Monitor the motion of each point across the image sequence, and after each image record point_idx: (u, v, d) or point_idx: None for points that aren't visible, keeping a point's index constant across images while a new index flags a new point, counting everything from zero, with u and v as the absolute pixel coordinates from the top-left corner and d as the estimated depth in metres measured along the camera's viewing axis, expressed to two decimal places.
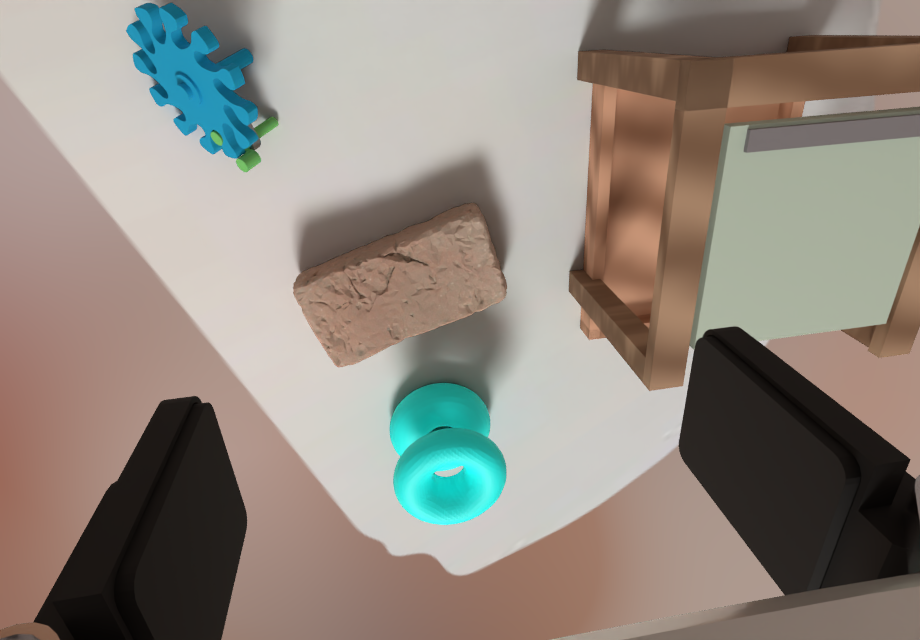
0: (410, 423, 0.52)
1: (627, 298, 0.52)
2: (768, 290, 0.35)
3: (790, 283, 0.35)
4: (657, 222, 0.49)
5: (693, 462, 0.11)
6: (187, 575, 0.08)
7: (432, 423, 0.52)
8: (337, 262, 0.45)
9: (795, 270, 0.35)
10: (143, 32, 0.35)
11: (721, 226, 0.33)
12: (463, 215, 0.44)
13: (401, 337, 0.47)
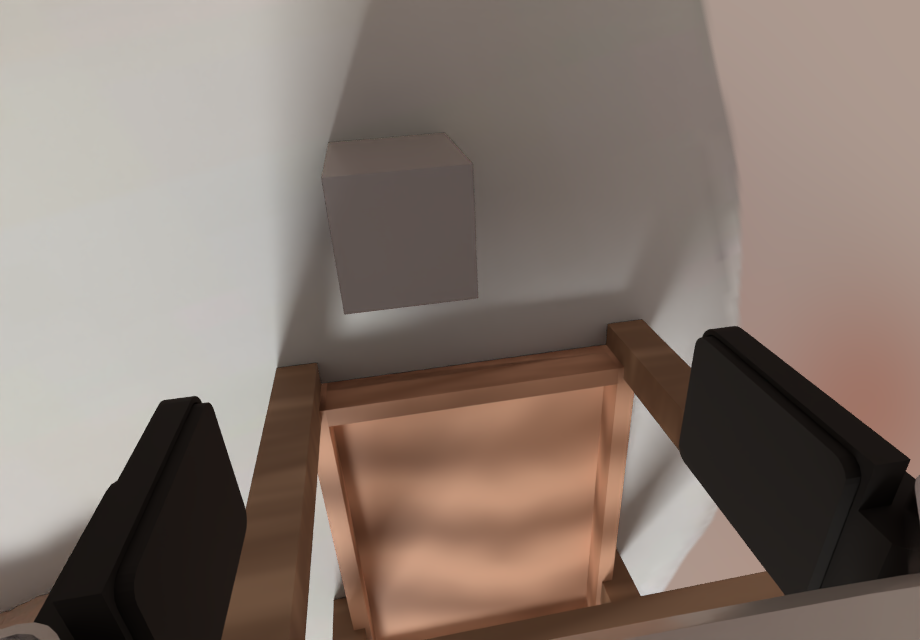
0: None
1: (421, 623, 0.38)
2: None
3: None
4: (446, 546, 0.35)
5: (693, 462, 0.11)
6: (187, 575, 0.08)
7: None
8: None
9: None
10: None
11: None
12: None
13: None
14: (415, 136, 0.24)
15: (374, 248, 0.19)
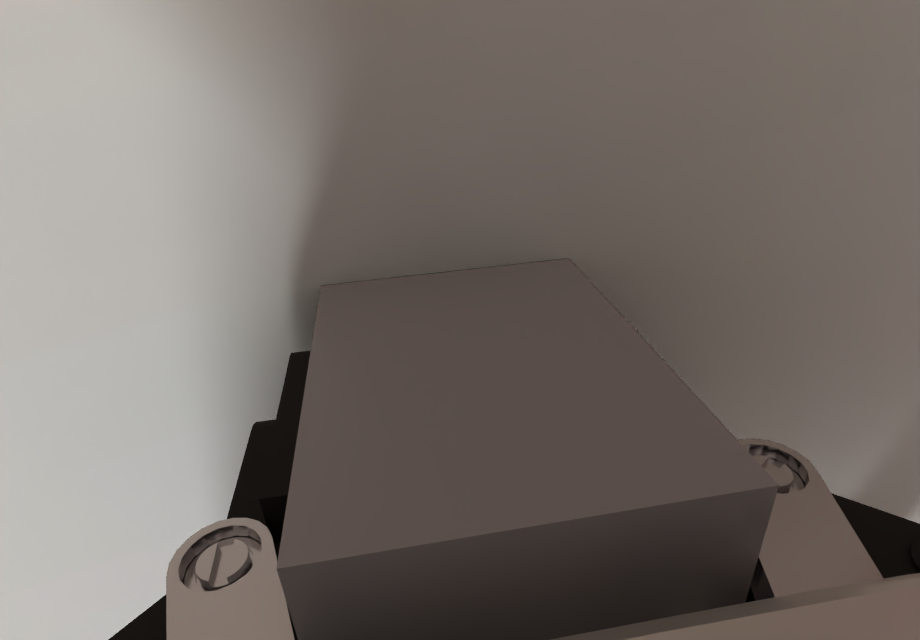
0: None
1: None
2: None
3: None
4: None
5: None
6: None
7: None
8: None
9: None
10: None
11: None
12: None
13: None
14: (510, 272, 0.11)
15: None
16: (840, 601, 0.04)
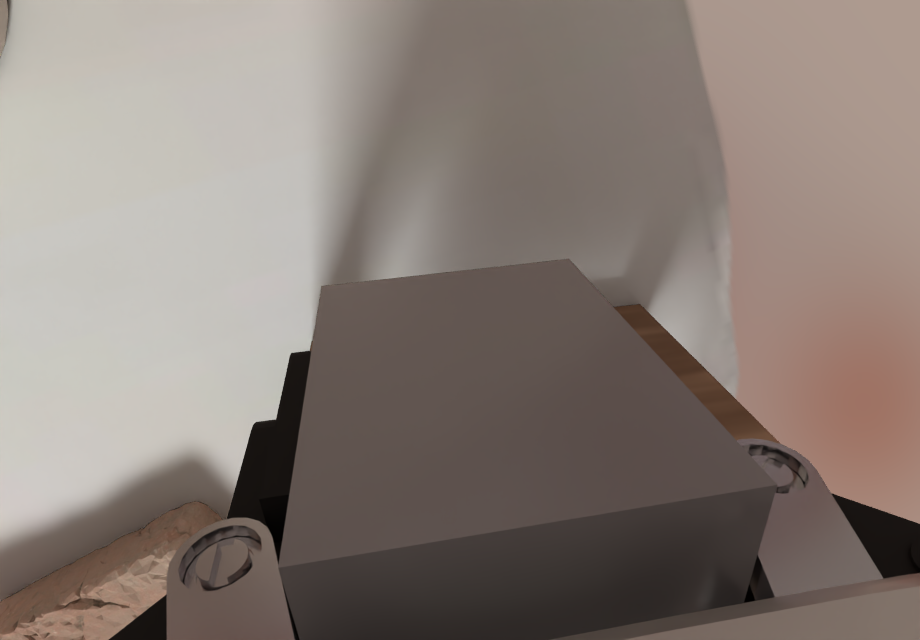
0: None
1: None
2: None
3: None
4: None
5: None
6: None
7: None
8: (21, 605, 0.35)
9: None
10: None
11: None
12: (158, 546, 0.33)
13: None
14: (510, 273, 0.11)
15: None
16: (840, 601, 0.04)
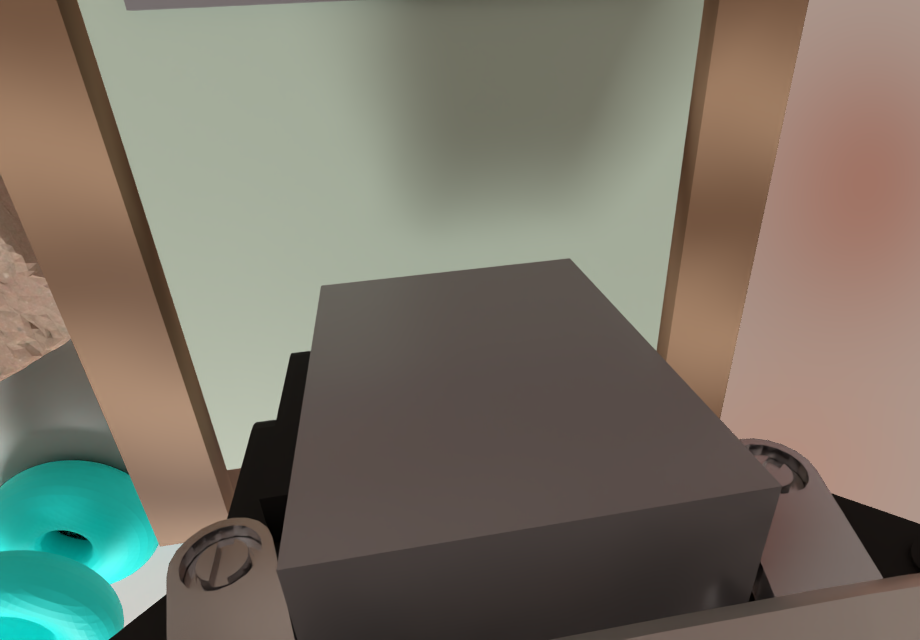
0: None
1: None
2: None
3: None
4: None
5: None
6: None
7: (32, 528, 0.33)
8: None
9: None
10: None
11: (163, 209, 0.14)
12: None
13: None
14: (511, 272, 0.11)
15: None
16: (840, 601, 0.04)
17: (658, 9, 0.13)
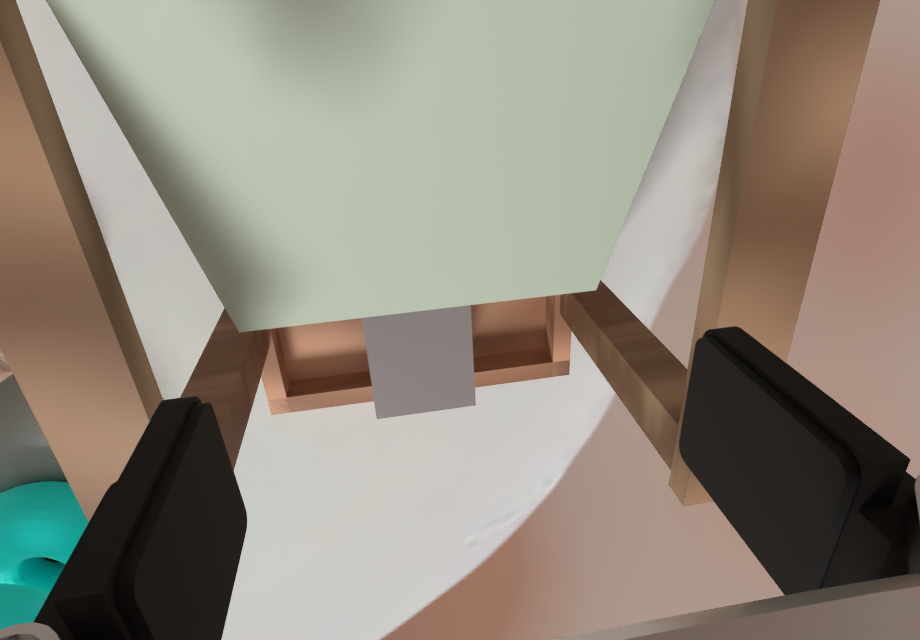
0: None
1: (340, 343, 0.31)
2: (345, 257, 0.18)
3: (388, 246, 0.18)
4: None
5: (693, 462, 0.11)
6: (187, 575, 0.08)
7: (7, 555, 0.31)
8: None
9: (390, 228, 0.17)
10: None
11: (156, 156, 0.14)
12: None
13: None
14: None
15: None
16: (840, 601, 0.04)
17: None
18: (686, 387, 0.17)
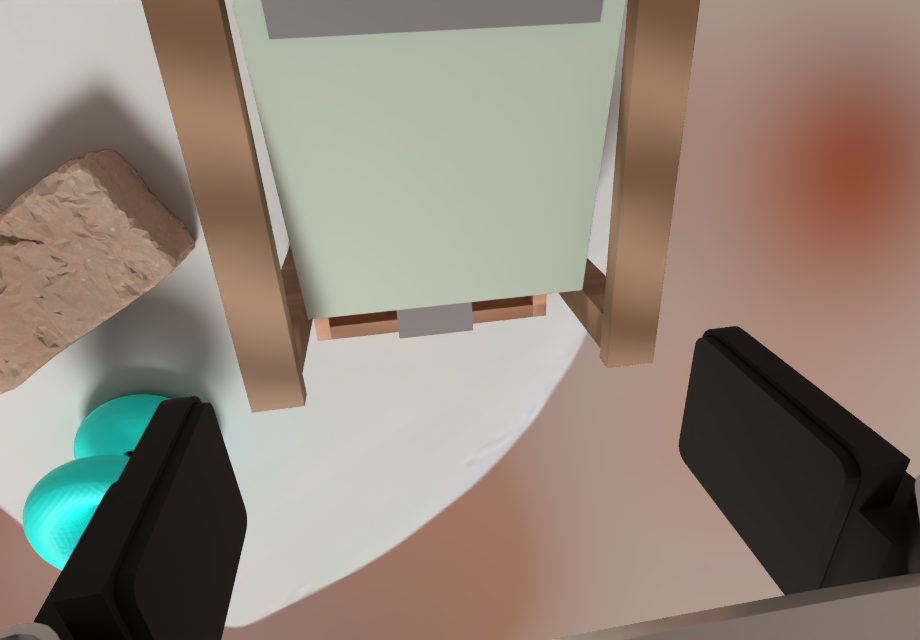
0: (87, 446, 0.40)
1: None
2: (392, 245, 0.26)
3: (422, 237, 0.25)
4: None
5: (693, 462, 0.11)
6: (187, 575, 0.08)
7: (115, 446, 0.40)
8: None
9: (424, 220, 0.25)
10: None
11: (280, 154, 0.22)
12: (62, 165, 0.32)
13: (60, 343, 0.36)
14: None
15: None
16: (840, 601, 0.04)
17: (591, 34, 0.21)
18: (606, 285, 0.27)
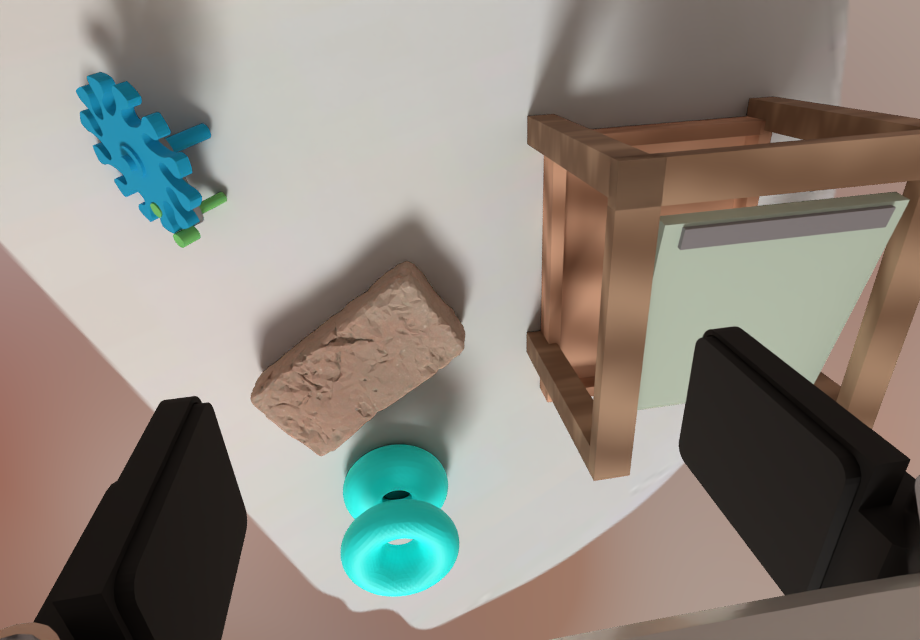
0: (362, 488, 0.50)
1: (587, 358, 0.51)
2: None
3: None
4: None
5: (693, 462, 0.11)
6: (187, 575, 0.08)
7: (385, 488, 0.50)
8: (287, 359, 0.44)
9: None
10: (94, 97, 0.33)
11: (652, 312, 0.32)
12: (392, 283, 0.42)
13: (372, 413, 0.46)
14: None
15: None
16: (840, 601, 0.04)
17: (875, 232, 0.31)
18: (842, 384, 0.37)
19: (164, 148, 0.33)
